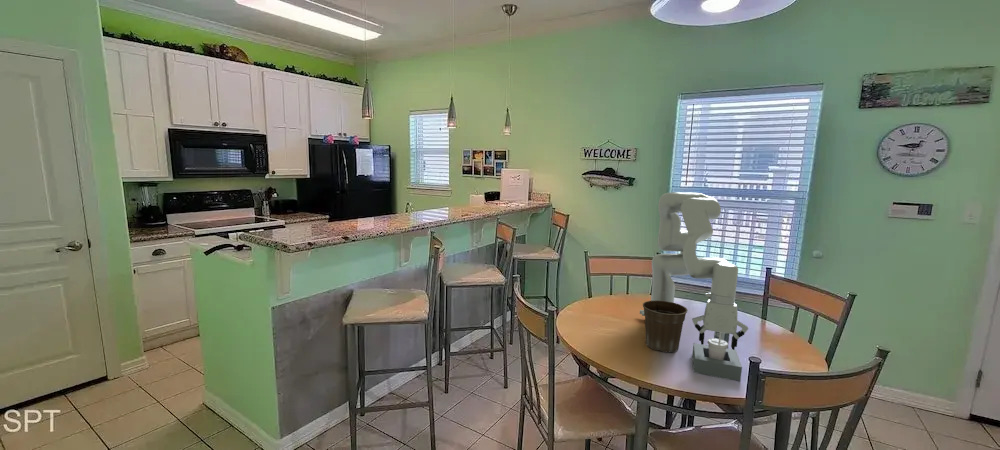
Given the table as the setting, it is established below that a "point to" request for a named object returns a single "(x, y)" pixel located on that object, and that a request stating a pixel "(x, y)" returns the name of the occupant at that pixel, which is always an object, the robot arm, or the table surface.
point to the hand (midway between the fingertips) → (717, 345)
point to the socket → (716, 363)
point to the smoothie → (717, 348)
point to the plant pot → (663, 324)
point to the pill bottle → (722, 336)
